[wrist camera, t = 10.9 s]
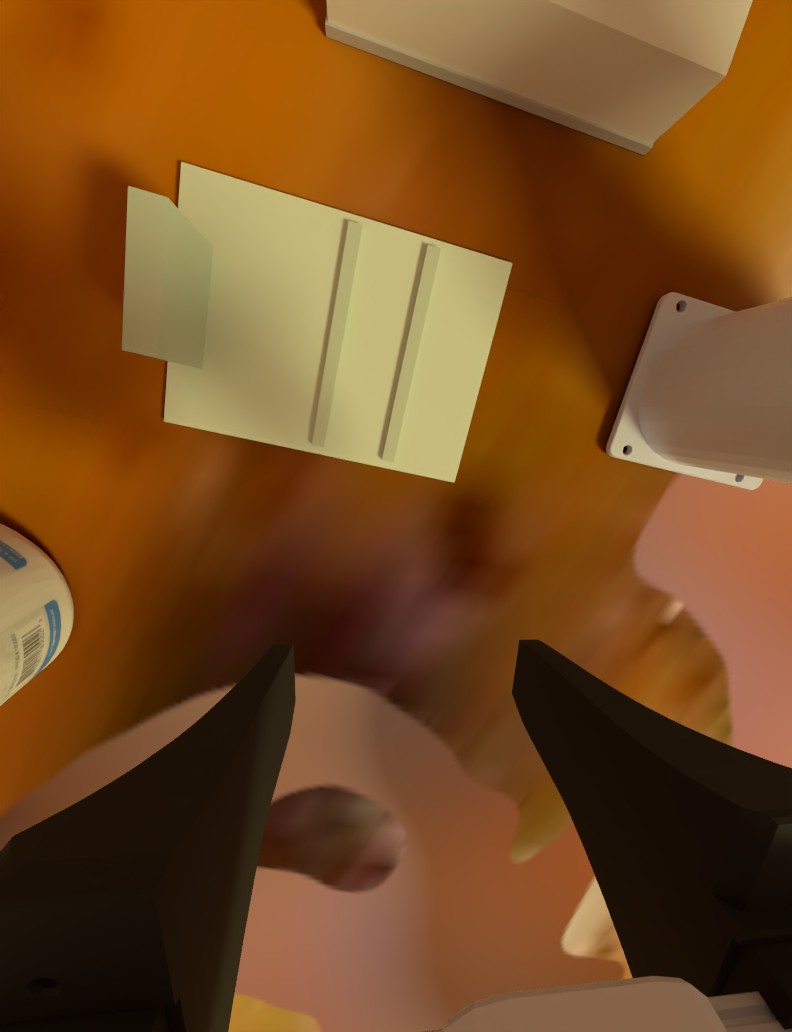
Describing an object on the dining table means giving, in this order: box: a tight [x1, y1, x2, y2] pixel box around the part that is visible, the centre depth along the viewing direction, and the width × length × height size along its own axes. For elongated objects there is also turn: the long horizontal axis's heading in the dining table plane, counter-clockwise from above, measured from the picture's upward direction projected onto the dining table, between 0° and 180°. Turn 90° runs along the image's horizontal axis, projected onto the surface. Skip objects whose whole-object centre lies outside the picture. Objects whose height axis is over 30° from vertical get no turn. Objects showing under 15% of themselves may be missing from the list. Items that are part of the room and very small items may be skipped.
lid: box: [122, 162, 513, 482], centre depth 16 cm, size 14×10×5 cm
